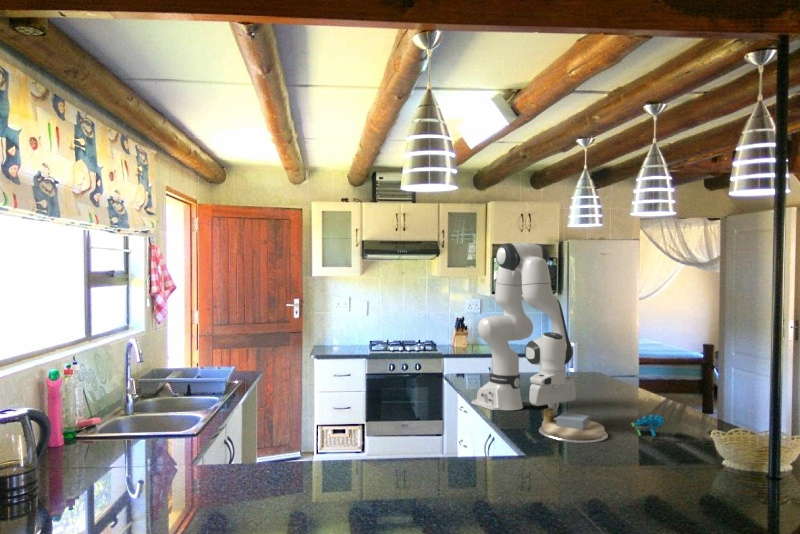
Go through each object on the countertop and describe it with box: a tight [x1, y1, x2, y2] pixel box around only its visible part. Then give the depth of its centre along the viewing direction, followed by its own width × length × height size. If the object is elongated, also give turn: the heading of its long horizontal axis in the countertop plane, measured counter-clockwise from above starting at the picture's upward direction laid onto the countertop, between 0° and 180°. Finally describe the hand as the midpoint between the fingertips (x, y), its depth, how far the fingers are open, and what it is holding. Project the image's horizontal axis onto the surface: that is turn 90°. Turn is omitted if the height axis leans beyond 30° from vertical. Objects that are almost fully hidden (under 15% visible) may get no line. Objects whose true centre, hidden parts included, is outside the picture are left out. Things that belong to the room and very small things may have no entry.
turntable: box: [541, 407, 606, 440], centre depth 187 cm, size 21×21×6 cm
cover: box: [555, 412, 590, 430], centre depth 187 cm, size 9×9×3 cm
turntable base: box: [538, 426, 609, 444], centre depth 187 cm, size 23×23×1 cm
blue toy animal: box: [631, 414, 665, 437], centre depth 185 cm, size 11×6×10 cm
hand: (553, 415), depth 195 cm, fingers closed
